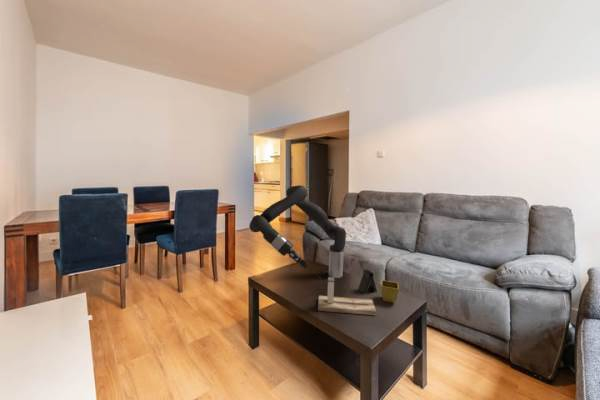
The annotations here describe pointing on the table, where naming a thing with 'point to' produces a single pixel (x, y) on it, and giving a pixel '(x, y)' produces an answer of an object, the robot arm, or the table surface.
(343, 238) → the robot arm
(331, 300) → the fader knob
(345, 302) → the wooden slider board
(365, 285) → the phone stand
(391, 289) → the flower pot
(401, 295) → the table surface
